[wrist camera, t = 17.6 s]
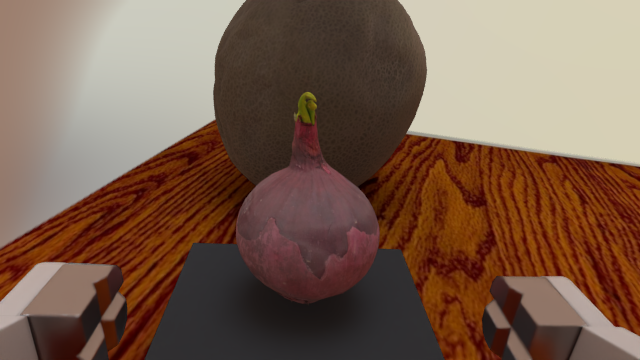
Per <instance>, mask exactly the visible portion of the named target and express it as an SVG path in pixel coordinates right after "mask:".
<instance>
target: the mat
mask: <svg viewBox="0 0 640 360" xmlns="http://www.w3.org/2000/svg"><path fill="white" fill-rule="evenodd" d="M308 304H309V305H308ZM145 360H445V359H444V357H443V354H442V352H441V349H440V347H439V344H438V342H437V339H436V337H435V334H434V332H433V329H432V327H431V324H430V322H429V319H428V317H427V314H426V312H425V309H424V307H423V304H422V302H421V299H420V297H419V294H418V292H417V289H416V287H415V284H414V282H413V279H412V277H411V274H410V272H409V269H408V267H407V264H406V262H405V259H404V257H403V254H402V251H401V250H399V249H378V250H377V253H376V256H375V259H374V261H373V263H372V265H371V267H370V269H369V270H368V272H367V274H366V275H365V276H364V277H363V278H362V279H361V280H360V281H359V282H358V283H357V284H355V285H354V286H353V287H351V288H350V289H348V290H347V291H345V292H344V293H342V294H338V295H335V296H331V297H328V298H324V299H321V300H318V301H316V302H313V303H307V304H305V303H304V304H301V303H297V302H295V301H292V302H291V300H289V299H287V298H284V297H283V296H282V295H279V294H278V293H277V292H276V291H274V290H272V289H271V288H269V287H267V286H266V285H264V284H263V283H262V282H261V281H260V280H259V279H257V278H256V277H255V276H254V275H253V273H252V272H251V271H250V269H249V268H248V266H247V265H246V263H245V262H244V260H243V258H242V256H241V254H240V251H239V248H238V245H237V244H209V243H193V245H192V247H191V250H190V252H189V254H188V257H187V259H186V262H185V264H184V266H183V269H182V271H181V274H180V276H179V278H178V281H177V283H176V286H175V288H174V290H173V293H172V295H171V298H170V300H169V302H168V305H167V307H166V310H165V312H164V314H163V317H162V319H161V322H160V324H159V326H158V329H157V331H156V334H155V336H154V338H153V341H152V343H151V346H150V348H149V350H148V353H147V355H146V358H145Z"/></svg>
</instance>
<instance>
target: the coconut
mask: <svg viewBox="0 0 640 360" xmlns="http://www.w3.org/2000/svg"><path fill="white" fill-rule="evenodd" d="M426 74H427V67H426V56H425V51H424V47H423V44H422V42H421V40H420V37H419V35H418V33H417V31H416V30H415V28H414V26H413V23H412V21H411V18H410V16H409V15H408V14H407V12H406V10H405V9H404V7H403V6H402V5H401V4H400V2H399V1H398V0H246V1H245V2H244V3H243V5H242V6H241V7H240V9H239V10H238V11H237V13H236V14H235V16H234V17H233V19H232V20H231V22H230V23H229V25H228V27H227V28H226V30H225V32H224V34H223V36H222V38H221V41H220V43H219V46H218V50H217V53H216V57H215V84H214V91H213V95H214V109H215V118H216V122H217V126H218V129H219V132H220V135H221V138H222V141H223V143H224V146H225V148H226V151H227V153H228V155H229V157H230V159H231V161H232V162H233V164H234V165H235V166H236V167H237V168H238V170H239V171H240V172H241V173H242V174H243V175H244V176H245V177H246V178H247V179H249V180H250V181H251V182H252V183H253V184H255V185H256V186H257V185H258V184H259V183H260V182H261V181H263V180H264V179H265V178H267V177H268V176H270V175H271V174H273V173H275V172H278V171H280V170H282V169H285V168H287V167H288V166H289V165H290V161H291V157H292V143H293V139H294V132H295V119H294V112H295V114H296V115H297V114H298V109H299V108H298V102H299V99H300V97H301V96H302V95H303V94H304V93H306V92H310V93H311V94H313V95H314V97H315V98H316V101H317V102H315V101H313V102H314V103H315V104H316V105H317V109H315V113H316V125H317V131H318V141H319V145H320V149H321V152H322V155H323V158H324V160H325V161H326V163H327V164H328V165H329V166H330V167H331V168H333V169H334V170H336V171H337V172H338V173H340V174H341V175H342V176H344V177H345V178H346V179H348V180H349V181H350V182H352V183H353V184H354V185H355V186H356V187H358V186H359V185H361V184H362V183H364V182H365V181H366V180H368V179H369V178H370V177H371V176H372V175H373V174H375V173H376V172H377V171H378V170H379V169H380V168H381V167H382V166H383V165H384V163H385V162H386V161H387V160H388V159H389V158H390V156H391V155H392V153H393V152H394V150H395V149H396V148H397V146H398V145H399V144H400V142H401V141H402V139H403V138H404V136H405V135H406V133H407V131H408V129H409V127H410V125H411V123H412V121H413V119H414V117H415V115H416V112H417V109H418V107H419V104H420V101H421V98H422V95H423V91H424V87H425V81H426ZM309 100H311V99H306V100H305V101H306V102H308V101H309Z"/></svg>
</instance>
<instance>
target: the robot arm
mask: <svg viewBox="0 0 640 360" xmlns="http://www.w3.org/2000/svg"><path fill="white" fill-rule="evenodd" d="M122 284H123V277H122V271H121V268H119V267H118V266H117V265H103V264H83V263H58V262H43V263H39V264H37V265H36V266H35V267H34V268H33V269H32V270H31V271H30V272H29V273H28V274H27V275H26V276H25V277H24V278H23V279H22V280H21V281H20V282H19V283H18V284H17V285H16V286H15V287H14V288H13V289H12V290H11V291H10V292H9V293H8V294H7V295H6V297H5V298H4V299H3V300H2V301H1V302H0V360H109V358H108V351H110V350H111V349H113V348H114V347H115V346H117V345H118V344H119V342H120V340H121V338H122V335H123V333H124V329H125V325H126V321H127V303H126V299H125V298H124V297H123V296H122V295H121V294H120V293H119V292H118V290H119V289H120V287H121V285H122ZM490 292H491V294H492V296H493V298H494V300H492V301H491V302H490V303H489V304H488V305H487V306H486V307H485V310H484V314H483V318H482V324H483V334H484V337H485V340H486V343H487V344H488V346H489V348H490V350H491V351H492V352H494V353H495V354H496V355H498V356H499V357H500V358H502V359H501V360H640V336H638V335H636V334H634V333H632V332H630V331H628V330H626V329H624V328H622V327H614V326H613V325H612V324H611V322H610V321H609V320H608V319H607V318H606V317H605V316H604V315H603V314H602V313H601V312H600V311H599V310H598V309H597V308H596V307H595V306H594V305H593V304H592V303H591V302H590V300H589V299H588V298H587V297H586V296H585V295H584V294H583V293H582V292H581V291H580V290H579V289H578V288H577V287H576V286H575V285H574V284H573V283H572V282H571V281H570V280H569V279H567V278H565V277H563V276H541V277H513V276H497V277H496V278H495V279H494V281H493V282H492V285H491V289H490Z"/></svg>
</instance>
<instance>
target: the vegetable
mask: <svg viewBox="0 0 640 360" xmlns="http://www.w3.org/2000/svg"><path fill="white" fill-rule="evenodd" d="M306 99H311V100H309V101H308V102H306V101H305V100H306ZM313 101H315V102H317V101H316V98H315V97H314V95H313V94H311V93H310V92H306V93H304V94H303V95H302V96H301V97H300V99H299V102H298V108H299V109H298V114H297V115H296V114H295V112H294V119H295V132H294V139H293V143H292V157H291V161H290V165H289V166H288V167H287V168H285V169H282V170H280V171H278V172H275V173H273V174H271V175H270V176H268V177H267V178H265V179H264V180H263V181H261V182H260V183H259V184H258V185H257V186H256V187H255V188H254V189H253V190H252V191H251V192H250V194H249V195H248V196H247V198H246V199H245V201H244V203H243V205H242V207H241V209H240V211H239V215H238V219H237V223H236V239H237V245H238V248H239V251H240V254H241V256H242V258H243V260H244V262H245V263H246V265H247V266H248V268H249V269H250V271H251V272H252V273H253V275H254V276H255V277H256V278H257V279H259V280H260V281H261V282H262V283H263V284H264V285H266V286H267V287H269V288H271V289H272V290H274V291H276V292H277V293H278V294H279V295H282V296H283V297H284V298H287V299H289V300H291V302H292V301H295V302H297V303H301V304H304V303H305V304H307V303H313V302H316V301H318V300H321V299H324V298H328V297H331V296H335V295H338V294H342V293H344V292H345V291H347V290H348V289H350V288H351V287H353V286H354V285H355V284H357V283H358V282H359V281H360V280H361V279H362V278H363V277H364V276H365V275H366V274H367V272H368V270H369V269H370V267H371V265H372V263H373V261H374V259H375V256H376V253H377V250H378V245H379V225H378V221H377V218H376V215H375V212H374V210H373V207H372V206H371V204H370V202H369V200H368V199H367V198H366V196H365V195H364V194H363V192H362V191H361V190H360V189H359V188H358V187H356V186H355V185H354V184H353V183H352V182H350V181H349V180H348V179H346V178H345V177H344V176H342V175H341V174H340V173H338V172H337V171H336V170H334V169H333V168H331V167H330V166H329V165H328V164H327V163H326V161H325V160H324V158H323V155H322V152H321V149H320V145H319V141H318V131H317V125H316V113H315V109H317V105H316V104H315V103H314V102H313ZM308 305H309V304H308Z"/></svg>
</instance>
